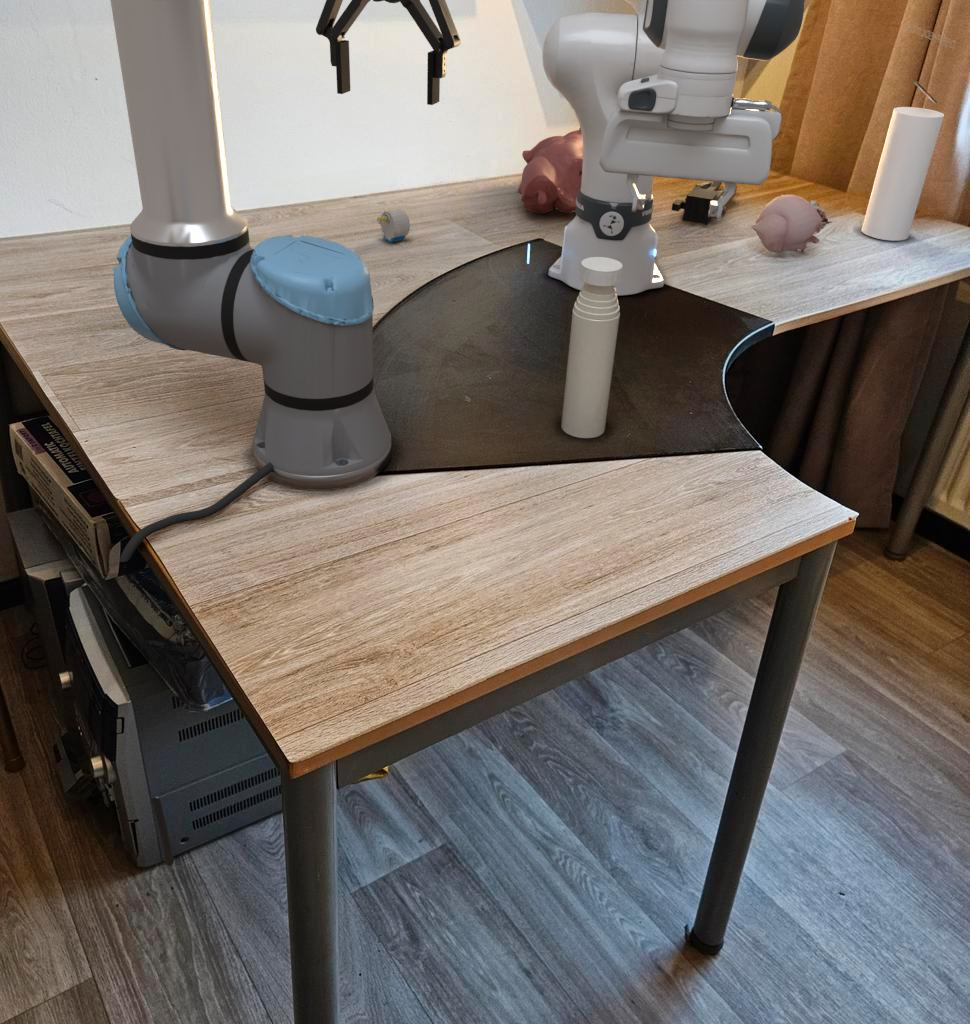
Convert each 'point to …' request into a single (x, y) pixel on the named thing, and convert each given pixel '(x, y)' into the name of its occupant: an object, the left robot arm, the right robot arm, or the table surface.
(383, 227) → the electric motor
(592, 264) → the cap
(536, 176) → the pink faceted figure
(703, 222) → the toy
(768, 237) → the toy
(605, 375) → the bottle
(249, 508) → the table surface
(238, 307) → the left robot arm
